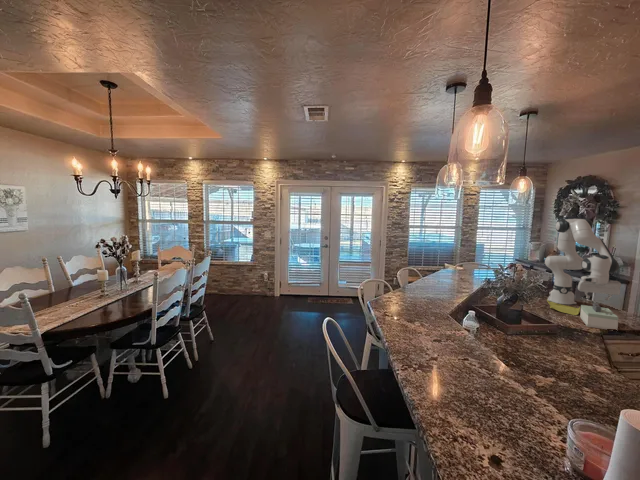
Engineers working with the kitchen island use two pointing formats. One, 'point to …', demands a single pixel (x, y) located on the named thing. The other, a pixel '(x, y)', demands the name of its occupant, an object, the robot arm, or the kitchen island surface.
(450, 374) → the kitchen island surface
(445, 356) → the kitchen island surface
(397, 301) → the kitchen island surface
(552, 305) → the plastic component
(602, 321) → the white open box
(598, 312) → the green lid
